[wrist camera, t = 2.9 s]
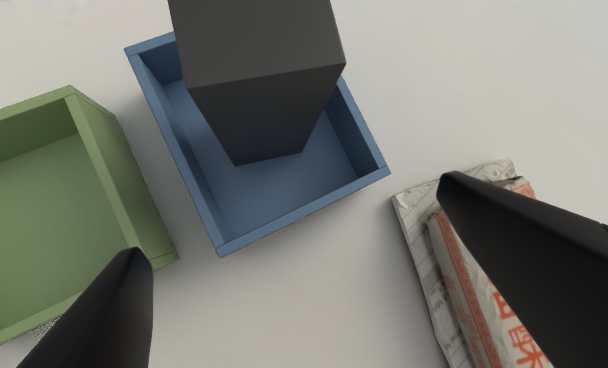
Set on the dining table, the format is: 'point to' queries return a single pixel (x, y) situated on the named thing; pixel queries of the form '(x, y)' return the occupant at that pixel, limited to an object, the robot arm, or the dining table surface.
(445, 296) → the packaged product
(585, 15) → the dining table surface
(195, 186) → the blue bin
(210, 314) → the dining table surface
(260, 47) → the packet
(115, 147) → the green bin
